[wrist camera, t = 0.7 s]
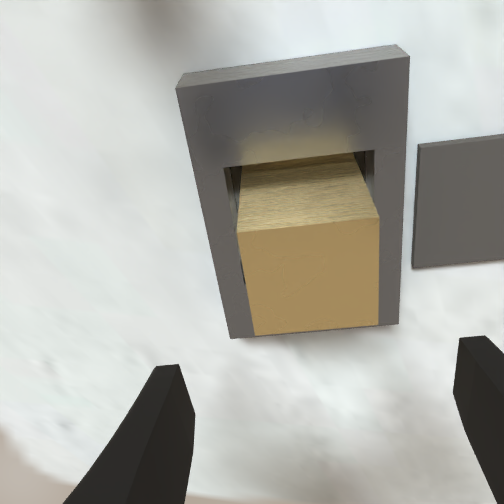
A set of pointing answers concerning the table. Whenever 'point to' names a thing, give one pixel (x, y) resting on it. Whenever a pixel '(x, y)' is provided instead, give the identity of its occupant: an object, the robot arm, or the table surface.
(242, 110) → the gray rectangular frame
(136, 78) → the table surface
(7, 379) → the table surface
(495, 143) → the flat gray plate
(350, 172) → the block
